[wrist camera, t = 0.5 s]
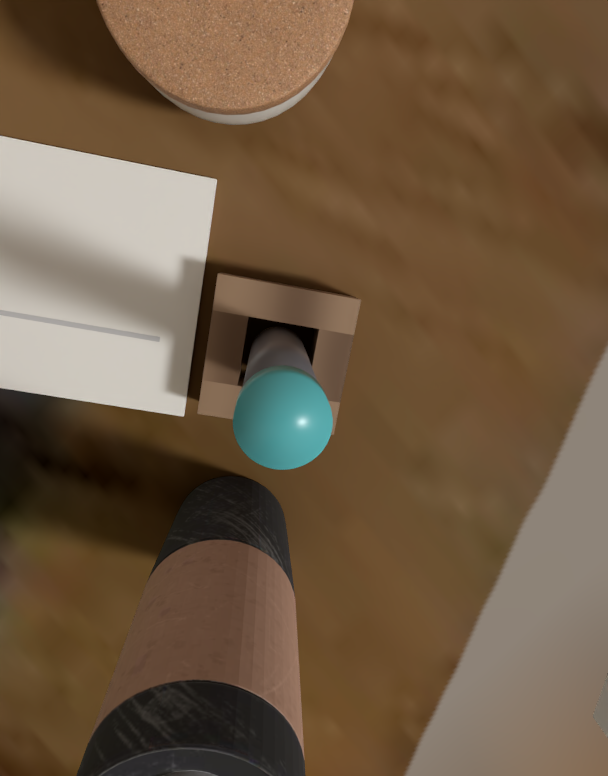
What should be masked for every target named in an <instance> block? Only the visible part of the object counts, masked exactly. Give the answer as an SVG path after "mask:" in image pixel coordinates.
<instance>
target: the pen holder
mask: <svg viewBox="0 0 608 776" xmlns="http://www.w3.org/2000/svg"><path fill="white" fill-rule="evenodd" d="M360 303H361V300H360V299H358V298H356V297H353V296H347V295H342V294H336V293H331V292H325V291H320V290H315V289H309V288H304V287H298V286H293V285H287V284H282V283H277V282H271V281H266V280H260V279H255V278H249V277H244V276H239V275H233V274H228V273H222V272H221V273H218V275H217V282H216V289H215V296H214V302H213V309H212V316H211V323H210V330H209V337H208V344H207V351H206V358H205V364H204V371H203V378H202V385H201V392H200V399H199V406H198V413H197V414H203V415H209V416H216V417H222V418H228V419H233V415H234V411H235V406H236V402H237V398H238V395H239V393H240V391H241V389H242V387H243V383H244V378H245V377H240V372H241V366H242V360H243V353H244V347H245V341H246V335H247V328H248V322H249V317H254V318H260V319H266V320H271V321H277V322H282V323H288V324H294V325H299V326H305V327H311V328H315V330H314V335H313V340H312V345H311V351H310V356H309V361H310V363H311V366H312V368H313V371H314V374H315V376H316V379H317V381H318V382H319V384H320V385H321V387H322V388H323V390H324V392H325V395H326V397H327V400H328V402H329V404H330V407H331V411H332V417H333V426H332V432H331V435H334V430H335V425H336V420H337V415H338V410H339V405H340V400H341V396H342V391H343V386H344V381H345V376H346V371H347V366H348V361H349V357H350V352H351V347H352V342H353V337H354V332H355V327H356V322H357V317H358V313H359V308H360Z"/></svg>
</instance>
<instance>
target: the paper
mask: <svg viewBox="0 0 608 776" xmlns="http://www.w3.org/2000/svg"><path fill="white" fill-rule="evenodd" d="M216 184H217V179H213V178H208V177H203V176H198V175H193V174H188V173H183V172H178V171H173V170H168V169H163V168H158V167H153V166H148V165H143V164H138V163H133V162H128V161H123V160H118V159H113V158H108V157H103V156H98V155H93V154H88V153H83V152H78V151H73V150H68V149H63V148H59V147H54V146H49V145H44V144H39V143H34V142H29V141H24V140H19V139H14V138H9V137H4V136H0V388H4V389H10V390H17V391H23V392H30V393H36V394H42V395H49V396H55V397H62V398H68V399H74V400H81V401H87V402H94V403H100V404H106V405H113V406H119V407H126V408H132V409H138V410H145V411H151V412H158V413H164V414H170V415H177V416H183V417H184V414H185V407H186V399H187V392H188V385H189V378H190V371H191V364H192V356H193V349H194V342H195V335H196V328H197V321H198V313H199V306H200V299H201V292H202V285H203V278H204V270H205V263H206V256H207V249H208V242H209V235H210V227H211V220H212V213H213V206H214V199H215V192H216Z"/></svg>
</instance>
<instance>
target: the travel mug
mask: <svg viewBox="0 0 608 776" xmlns="http://www.w3.org/2000/svg"><path fill="white" fill-rule="evenodd" d="M77 776H305V763H304V746H303V728H302V711H301V693H300V676H299V658H298V641H297V623H296V606H295V594H294V586H293V578H292V570H291V562H290V554H289V546H288V538H287V530H286V523H285V518H284V514H283V511H282V508H281V506H280V504H279V502H278V501H277V499H276V498H275V497H274V495H273V494H272V493H271V492H270V491H269V490H268V489H266V488H265V487H264V486H262V485H261V484H259V483H257V482H255V481H253V480H250V479H247V478H243V477H235V476H226V477H219V478H215V479H212V480H209V481H207V482H205V483H203V484H201V485H200V486H198V487H197V488H196V489H194V490H193V491H192V492H191V493H190V494H189V495H188V496H187V497H186V499H185V500H184V502H183V503H182V505H181V507H180V509H179V511H178V513H177V515H176V517H175V519H174V522H173V524H172V526H171V529H170V531H169V533H168V535H167V538H166V540H165V542H164V544H163V547H162V549H161V551H160V554H159V556H158V558H157V560H156V563H155V565H154V567H153V569H152V572H151V574H150V576H149V579H148V581H147V583H146V586H145V589H144V591H143V594H142V597H141V600H140V602H139V605H138V608H137V611H136V613H135V616H134V619H133V622H132V624H131V627H130V630H129V633H128V635H127V638H126V641H125V644H124V646H123V649H122V652H121V655H120V657H119V660H118V663H117V666H116V668H115V671H114V674H113V677H112V679H111V682H110V685H109V688H108V690H107V693H106V696H105V699H104V701H103V704H102V707H101V710H100V712H99V715H98V718H97V721H96V723H95V726H94V729H93V732H92V734H91V737H90V740H89V743H88V745H87V748H86V751H85V754H84V756H83V759H82V762H81V765H80V767H79V770H78V773H77Z"/></svg>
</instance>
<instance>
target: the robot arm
mask: <svg viewBox="0 0 608 776" xmlns="http://www.w3.org/2000/svg"><path fill="white" fill-rule="evenodd" d="M593 717H594V719H595V720H596V722H597V723H598V725H599V726H600V727H601V729H602V730H603V732H604V733H605V735H606V736H607V738H608V675H607V677H606V680H605V683H604V686H603V689H602V691H601V694H600V697H599V700H598V703H597V706H596V708H595V711H594V714H593Z"/></svg>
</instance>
